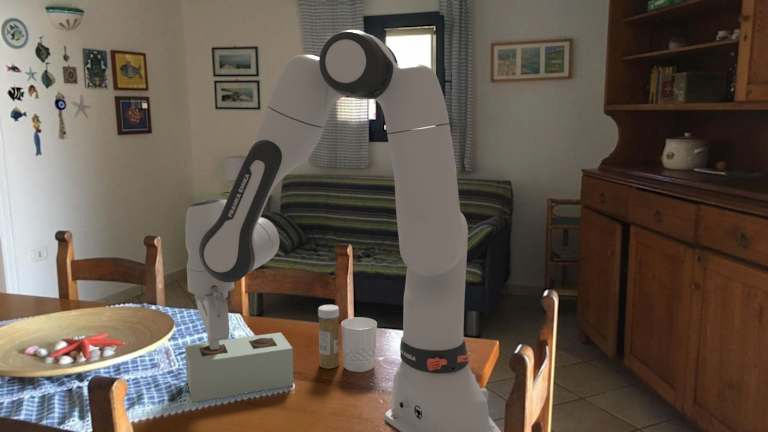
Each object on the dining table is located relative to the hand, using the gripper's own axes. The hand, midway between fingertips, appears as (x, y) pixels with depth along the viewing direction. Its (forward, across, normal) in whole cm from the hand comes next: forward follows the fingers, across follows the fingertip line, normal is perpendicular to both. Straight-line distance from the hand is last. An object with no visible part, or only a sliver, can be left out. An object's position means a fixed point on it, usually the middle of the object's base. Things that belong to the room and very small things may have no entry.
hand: (213, 347), depth 122 cm
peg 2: (+8, 0, -10) cm, 13 cm away
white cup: (+9, -1, -31) cm, 32 cm away
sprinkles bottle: (+9, +2, -25) cm, 27 cm away
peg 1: (+8, 0, 0) cm, 8 cm away
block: (+9, 0, -5) cm, 10 cm away
